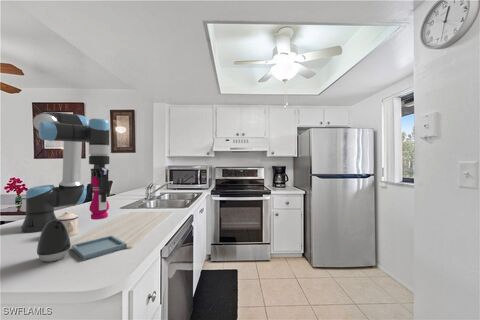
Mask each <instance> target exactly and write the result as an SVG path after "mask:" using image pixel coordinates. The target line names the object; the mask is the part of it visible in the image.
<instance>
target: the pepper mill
mask: <svg viewBox="0 0 480 320" xmlns="http://www.w3.org/2000/svg"><path fill="white" fill-rule="evenodd" d="M91 184H92V185H93V186H94V187H93V190H94V196H93V200H91V202H90V203H89V204H90V205H89V209H88V210H89V211H90V212H91V214H90V219H91V220H95V221H96V220H103V219H107V218H108V217H109V212H108V210H109V209H110V204H109V201H108V200H107V209H106V210H99V195H98V193H100V190H99V181H98V179H97V178H96V176H94V177H93V178H92V180H91V179H90V185H91ZM104 191H105V190H104Z"/></svg>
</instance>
